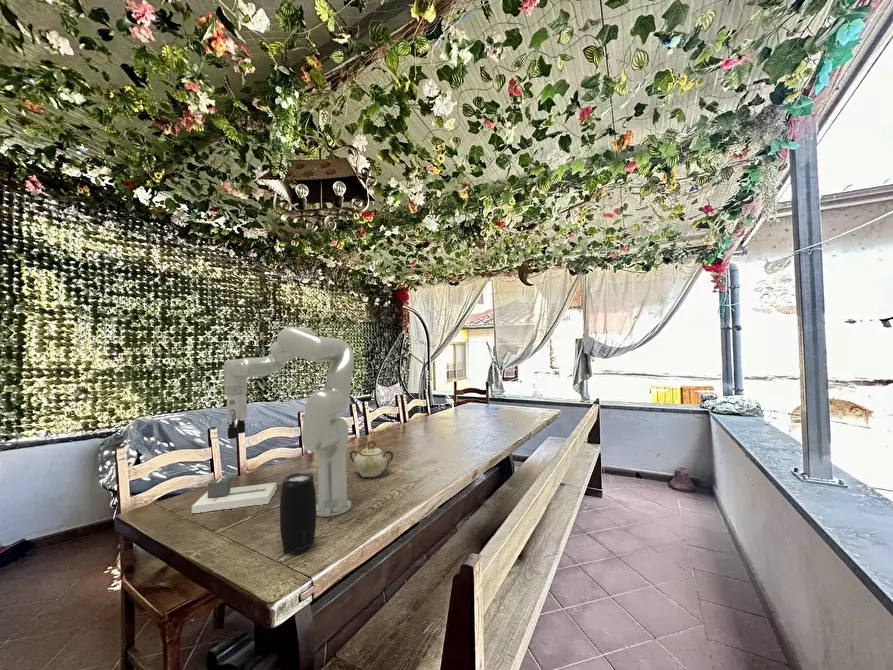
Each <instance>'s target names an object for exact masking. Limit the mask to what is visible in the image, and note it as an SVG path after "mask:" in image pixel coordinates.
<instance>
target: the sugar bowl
mask: <svg viewBox="0 0 893 670" xmlns="http://www.w3.org/2000/svg"><path fill="white" fill-rule="evenodd" d="M371 443H373V446H370V445H371ZM376 445H377V444H376V441H374V440H370V441H368V443H367V447H366V448H364V449H361V450H355V449H353V450H352V451H350V452H349V458H350V460H351V461H352V463H353V465H354V466H355V470H356V471H357V472H358V473H359V474H360V476H361V477H362V478H364V477H374V478H376V477H375V476H377V477H379V476H381V475H382V473H383V472H384V470H385V469H386V468H387V467H388V465H389V464H390V462H391V461H392V460H393V458H394V454H393V451H391V450H386V451H385V450H384V449H382V448H378V447H377V446H376ZM353 453H354V454H355V456H354V458H353V456H352V454H353ZM387 454H389V455H390V458H389V457H388V455H387ZM380 474H381V475H380ZM378 475H379V476H378Z"/></svg>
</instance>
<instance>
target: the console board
mask: <svg viewBox="0 0 893 670" xmlns="http://www.w3.org/2000/svg"><path fill="white" fill-rule="evenodd" d="M275 491H277V482H269V483H268V482H267V483H261V484H253V485H252V484H251V485H245V486H238V487H237V486H236V487H230V492H229V493H228V494H227V495H225V496H217V497H209V498H208V490H207V491H206V492H205V493H204V494H203V495H202V496H201V497H200V498H199V499H198V500H196V501H195V503H193V504H192V505H191V514H192V513H200V512H207V511H213V510H221V509H230V508H238V507H245V506H253V505H261V506H263V505H262V504H268V503H269V504H270V502H271V501H272V499H273V497H274V495H275V493H276V492H275ZM272 496H273V497H272ZM271 498H272V499H271ZM270 500H271V501H270ZM269 504H268V505H269Z"/></svg>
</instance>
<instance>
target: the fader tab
mask: <svg viewBox="0 0 893 670" xmlns="http://www.w3.org/2000/svg"><path fill="white" fill-rule="evenodd" d="M230 488H231V477H225V478H224V477H223V478H215V479H211V480H210V481H209V482H208V483H207V491H208V498H209V497H217V496H225V495H227V494H228V493H229V492H230Z"/></svg>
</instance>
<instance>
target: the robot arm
mask: <svg viewBox="0 0 893 670" xmlns="http://www.w3.org/2000/svg"><path fill="white" fill-rule="evenodd" d="M296 357H298V358H301V359H303V360H306V361H308V362H312V363H313V362H314V363H322V362H323V363H324V362H325V363H327V362H330V363H331V365H330V366H329V369H328V371H327V374H326V377H325V386H324V388H323V389H318V390H315V391H314V392H312V393H311V394H310V395H309V397H308V398H307V401H306V403H305V408H304V415H303V424H302V429H301V430H302V431H301V441H302V445H303V447H304V448H305V449H306V450H307V451H308V452H311V453H318V456H317V489H318V490H317V496H318V498H317V501H318V502H317V503H316V517H320V518H330V517H337V516H340V515H343V514H345V513H347V512H348V511H349V510H350V509H351V508H352V501H351V500H350V499H348V495H347V494H348V487H347V486H348V484H347V480H348V478H347V475H348V474H347V472H348V471H347V448H348V439H349V433H350V432H349V430H350V429H349V425H348V423H347V421H346V420H345V419H344V418H342V417H339V416H337V415H340V414H341V413H344V412H345V411H346V410H347V408H348V406H349V403H350V402H349V401H350V400H349V399H350V394H351V386H352V385H351V384H352V376H353V372H354V371H353V370H354V365H355V354H354V351H353V348H352V347H351V345H349V344H348V343H347V342H346V341H345V340H342V339H340V338H336V337H321V336H317V334H316V333H315V331H313V330H312V329H310V328H308V327H300V326H296V327H295V326H287V327H285V328H283V329H281V330H280V331H279V332H278V334H277V338H276V341H274V342H273V343H272V344H271V345H270V354H268V355H266V356H264V357H261V356H260V357H243V358H239V359H227V360H225V361H224V363H223V374H224V375H223V379H224V380H223V381H224V382H223V383H224V396H225V397H226V421H227V439H229V440H232V439H237V438H239V434H244V433H246V419H247V418H248V404H247V394H248V378H257V377H258V378H259V377H266V376H270V375H272V374H274V373H276V372H277V371H280V370H281V369H283V368H284V367H285V366H286V365H287V363H288V362H289V361H291V360H293V359H295V358H296Z"/></svg>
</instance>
